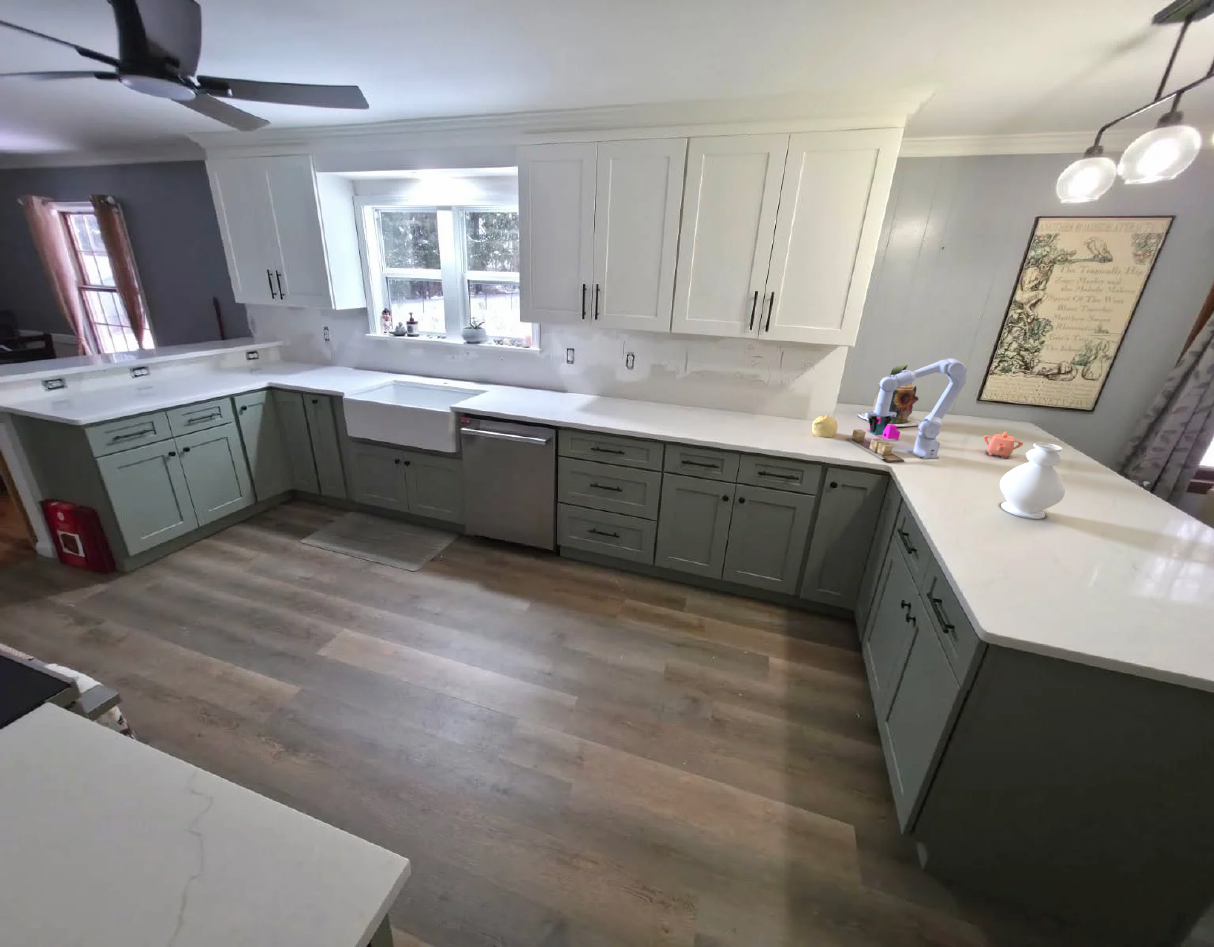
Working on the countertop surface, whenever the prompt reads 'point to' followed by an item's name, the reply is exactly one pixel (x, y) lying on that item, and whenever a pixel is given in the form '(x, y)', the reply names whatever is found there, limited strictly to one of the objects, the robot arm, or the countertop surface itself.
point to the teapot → (1001, 444)
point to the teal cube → (879, 429)
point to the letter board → (867, 445)
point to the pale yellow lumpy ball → (824, 426)
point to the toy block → (890, 431)
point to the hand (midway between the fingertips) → (876, 431)
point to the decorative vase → (1034, 483)
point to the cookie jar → (900, 402)
